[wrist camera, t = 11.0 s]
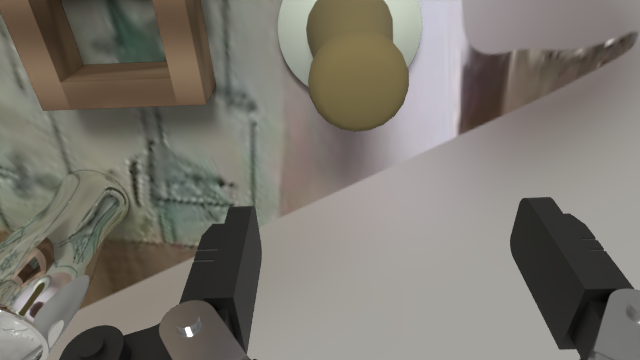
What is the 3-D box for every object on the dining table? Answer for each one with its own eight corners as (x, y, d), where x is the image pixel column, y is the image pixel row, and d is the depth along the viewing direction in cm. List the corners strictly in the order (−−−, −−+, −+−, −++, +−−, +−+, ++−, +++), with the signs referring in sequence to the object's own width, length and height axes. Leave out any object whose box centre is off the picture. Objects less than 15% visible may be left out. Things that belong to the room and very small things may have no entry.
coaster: (271, -47, 29) (270, -45, 28) (426, -54, 28) (429, -53, 28) (285, 97, 34) (284, 101, 34) (414, 92, 34) (416, 96, 33)
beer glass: (140, 229, 42) (63, 376, 30) (65, 225, 42) (-44, 371, 29) (126, 167, 38) (32, 306, 26) (44, 162, 38) (-92, 301, 25)
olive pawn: (400, 60, 32) (430, 133, 23) (319, 82, 33) (317, 160, 24) (384, -28, 29) (412, 16, 19) (294, -1, 29) (281, 53, 20)
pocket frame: (-2, -84, 28) (-40, -80, 25) (182, -94, 27) (166, -90, 24) (66, 91, 34) (43, 110, 31) (215, 85, 34) (205, 104, 31)
